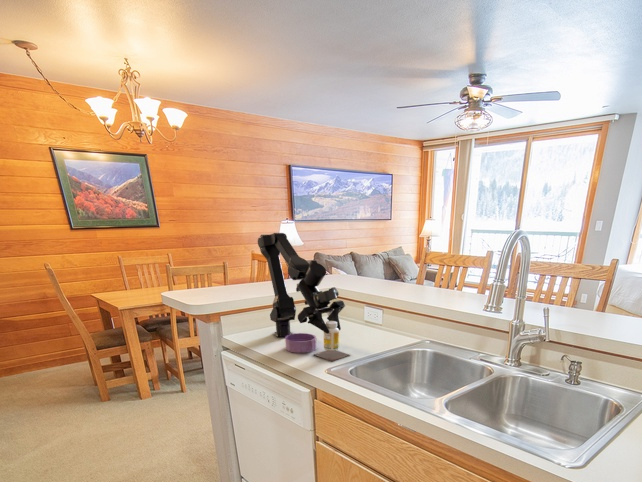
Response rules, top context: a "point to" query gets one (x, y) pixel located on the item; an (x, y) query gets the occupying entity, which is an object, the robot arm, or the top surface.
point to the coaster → (331, 355)
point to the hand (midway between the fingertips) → (334, 331)
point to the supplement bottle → (331, 336)
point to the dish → (300, 342)
